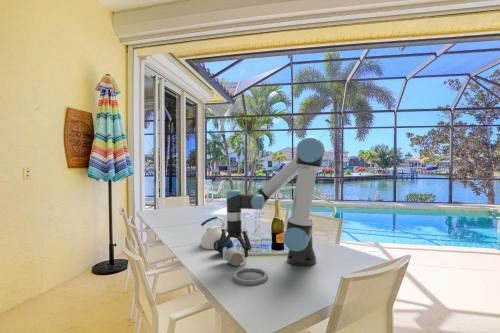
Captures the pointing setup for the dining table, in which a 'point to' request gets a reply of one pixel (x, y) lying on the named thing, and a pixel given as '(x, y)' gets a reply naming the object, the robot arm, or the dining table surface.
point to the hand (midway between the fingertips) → (234, 261)
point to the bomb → (228, 245)
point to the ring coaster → (250, 276)
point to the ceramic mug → (233, 256)
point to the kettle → (212, 234)
